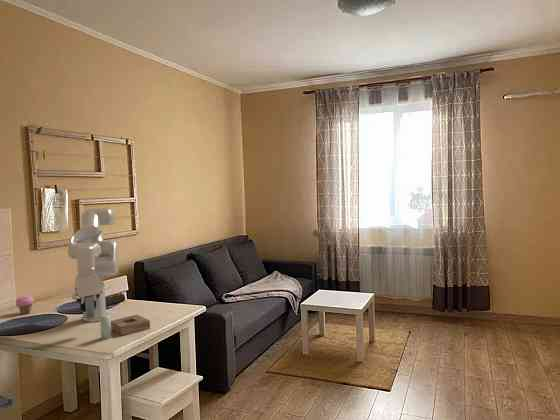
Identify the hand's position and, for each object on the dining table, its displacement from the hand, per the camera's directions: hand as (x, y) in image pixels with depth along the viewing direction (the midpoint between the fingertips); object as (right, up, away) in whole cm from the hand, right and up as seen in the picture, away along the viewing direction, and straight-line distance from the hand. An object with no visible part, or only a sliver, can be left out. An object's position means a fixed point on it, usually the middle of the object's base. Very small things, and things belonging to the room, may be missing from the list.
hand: (88, 309), depth 198 cm
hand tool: (-11, -10, +50) cm, 52 cm away
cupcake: (-53, -11, +38) cm, 66 cm away
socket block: (+17, -11, +7) cm, 21 cm away
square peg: (0, -3, 0) cm, 3 cm away
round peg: (+10, -12, -5) cm, 16 cm away
